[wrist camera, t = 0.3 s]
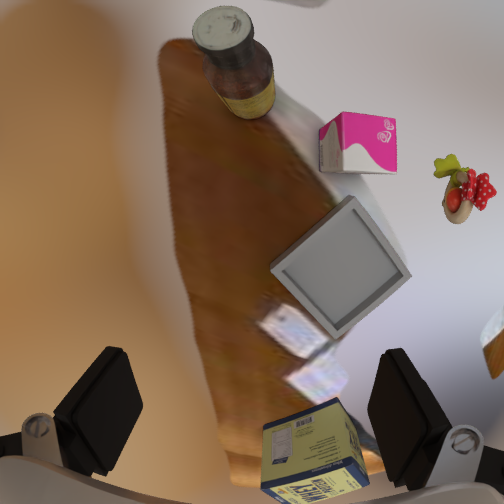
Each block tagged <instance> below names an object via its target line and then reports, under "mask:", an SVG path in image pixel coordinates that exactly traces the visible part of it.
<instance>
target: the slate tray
mask: <svg viewBox="0 0 504 504" xmlns="http://www.w3.org/2000/svg"><path fill="white" fill-rule="evenodd" d="M270 271H271V272H272V273H273V274H274V275H275V276H276V277H277V279H278V280H279V281H280V282H281V283H282V284H283V285H284V286H285V287H286V288H287V289H288V290H289V291H290V292H291V293H292V294H293V295H294V296H295V297H296V299H297V300H298V301H299V302H300V303H301V304H302V305H303V306H304V307H305V308H306V309H307V310H308V311H309V312H310V313H311V314H312V315H313V316H314V317H315V318H316V320H317V321H318V322H319V323H320V324H321V325H322V326H323V327H324V328H325V329H326V330H327V331H328V332H329V333H330V334H331V335H332V336H333V337H334V338H335V340H336V339H337V338H338V337H340V336H341V335H342V334H344V333H345V332H346V331H347V330H349V329H350V328H351V327H353V326H354V325H355V324H357V323H358V322H359V321H360V320H362V319H363V318H364V317H365V316H367V315H368V314H369V313H370V312H371V311H373V310H374V309H375V308H376V307H378V306H379V305H380V304H381V303H382V302H383V301H385V300H386V299H387V298H388V297H389V296H390V295H392V294H393V293H394V292H395V291H396V290H397V289H398V288H400V287H401V286H402V285H403V284H404V283H405V282H406V281H407V280H408V279H410V277H412V275H411V274H410V272H409V271H408V269H407V268H406V266H405V265H404V263H403V262H402V260H401V259H400V257H399V256H398V254H397V253H396V251H395V250H394V248H393V247H392V246H391V244H390V243H389V241H388V240H387V239H386V237H385V236H384V234H383V233H382V232H381V230H380V229H379V227H378V226H377V225H376V223H375V222H374V221H373V219H372V218H371V217H370V215H369V214H368V213H367V211H366V210H365V209H364V208H363V206H362V205H361V204H360V202H359V201H358V200H357V199H356V197H354V196H351V195H348V196H347V197H346V198H345V199H344V200H343V201H342V202H341V203H339V204H338V205H337V206H336V207H335V208H334V209H333V210H332V211H330V212H329V213H328V214H327V215H326V216H325V217H324V218H322V219H321V220H320V221H319V222H318V223H317V224H316V225H315V226H313V227H312V228H311V229H310V230H309V231H308V232H306V233H305V234H304V235H303V236H302V237H301V238H300V239H298V240H297V241H296V242H295V243H294V244H293V245H292V246H290V247H289V248H288V249H287V250H286V251H285V252H283V253H282V254H281V255H280V256H279V257H278V258H276V259H275V260H274V261H273V262H272V263H271V264H270Z"/></svg>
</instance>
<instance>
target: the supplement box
mask: <svg viewBox="0 0 504 504" xmlns="http://www.w3.org/2000/svg"><path fill="white" fill-rule="evenodd" d="M319 168H320V172H331V173H350V174H397V145H396V121H395V119H394V118H387V117H381V116H374V115H367V114H360V113H352V112H342V113H340V114H339V115H338V116H337V117H335V118H334V119H333V120H331V121H330V122H329V123H327V124H326V125H325V126H324V127H322V128H321V129H320V130H319Z"/></svg>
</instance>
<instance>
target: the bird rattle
mask: <svg viewBox="0 0 504 504" xmlns="http://www.w3.org/2000/svg"><path fill="white" fill-rule="evenodd" d="M434 165H435V167H436V171H435V172H434V176H435V177H437V178H442V177H446V176H449V175H450V176H451V177H450V181H449V183H448V185H447V188H446V191H445V196H444V199H443V201H442V206H443V207H444V212H445V215H446V217H447V219H448V220H449V221H450V222H452V223H454V224H461V223H463V222H464V221H465V220H466V219H467V218H468V216H469V215H470V213H471V211H472V208H473V204H474V205H475V206H476V207H477V208H478V209H479V210H480V211H482V210H483V209H484V208H485V207H486V204H487V200H488V199H489V198H492V197H493V196H495V195H496V193H497V192H496V190H495V188H494V187H493V186H492V185H491V184H490V183H489V175H488V174H487V173H482V174H480V175H478V176H477V177H476V172H475V170H473V169H469V167H467V168H466V169H465V168H461V166H460V164H459V162H458V160H457V158H456V156H455V155H453V154H450V155H448V156H447V157H446V159H439V158H438V159H436V160H435V161H434ZM465 172H466V173H465ZM460 186H462V189H461V188H459V187H460Z"/></svg>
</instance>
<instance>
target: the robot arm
mask: <svg viewBox="0 0 504 504" xmlns="http://www.w3.org/2000/svg"><path fill="white" fill-rule="evenodd" d="M142 409H143V402H142V399H141V396H140V393H139V390H138V387H137V384H136V382H135V378H134V375H133V372H132V369H131V366H130V362H129V359H128V356H127V354H126V352H124V351H123V349H122V348H118V347H111V346H108V347H106V348H105V349H104V350H103V351H102V353H101V354H100V355H99V356H98V357H97V358H96V360H95V361H94V362H93V363H92V364H91V366H90V367H89V368H88V369H87V370H86V372H85V373H84V374H83V375H82V377H81V378H80V379H79V380H78V382H77V383H76V384H75V385H74V386H73V387H72V389H71V390H70V391H69V392H68V394H67V395H66V396H65V397H64V399H63V400H62V401H61V403H60V404H59V405H58V406H57V407H56V409H55V410H54V411H53V412H54V414H55V416H54V417H53V418H52V417H51V416H50V415H48V414H45V413H36V414H33V415H31V416H29V417H28V418H27V419H26V420H25V421H24V422H23V424H22V429H21V430H22V431H21V432H18V433H14V434H9V435H5V436H0V504H189V503H184V502H178V501H173V500H167V499H163V498H158V497H154V496H150V495H145V494H142V493H137V492H134V491H130V490H127V489H124V488H120V487H117V486H114V485H111V484H108V483H105V482H102V481H99V480H96V479H93V478H92V477H91V475H92V473H93V472H94V473H97V474H99V475H102V476H107V474H108V471H112V470H113V468H114V466H115V464H116V462H117V460H118V458H119V456H120V454H121V451H122V450H123V448H124V446H125V444H126V442H127V440H128V438H129V436H130V433H131V431H132V429H133V427H134V425H135V423H136V421H137V419H138V417H139V415H140V413H141V411H142ZM367 410H368V416H369V419H370V422H371V425H372V428H373V431H374V434H375V437H376V440H377V444H378V447H379V450H380V453H381V456H382V460H383V463H384V466H385V470H386V473H387V476H388V479H389V481H390V482H392V481H393V482H394V486H395V488H396V487H400V486H404V485H406V486H407V489H408V490H409V492H405V493H401V494H397V495H393V496H389V497H384V498H379V499H374V500H370V501H364V502H358V503H351V504H504V451H501V450H498V449H494V448H491V447H488V446H484V439H483V436H482V434H481V433H480V431H479V430H477V429H476V428H475V427H472V426H470V425H458V426H456V427H454V428H453V427H452V425H451V424H450V422H449V420H448V418H447V417H446V415H445V413H444V412H443V410H442V408H441V406H440V405H439V403H438V401H437V400H436V398H435V397H434V395H433V393H432V392H431V390H430V388H429V387H428V385H427V383H426V382H425V381H424V380H423V379H422V378H421V376H420V375H419V373H418V371H417V370H416V368H415V367H414V365H413V364H412V362H411V360H410V359H409V357H408V356H407V354H406V353H405V351H404V350H403V349H402V348H397V349H388V350H386V352H385V354H382V355H381V358H380V362H379V366H378V370H377V374H376V378H375V382H374V386H373V389H372V393H371V396H370V400H369V403H368V409H367Z"/></svg>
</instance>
